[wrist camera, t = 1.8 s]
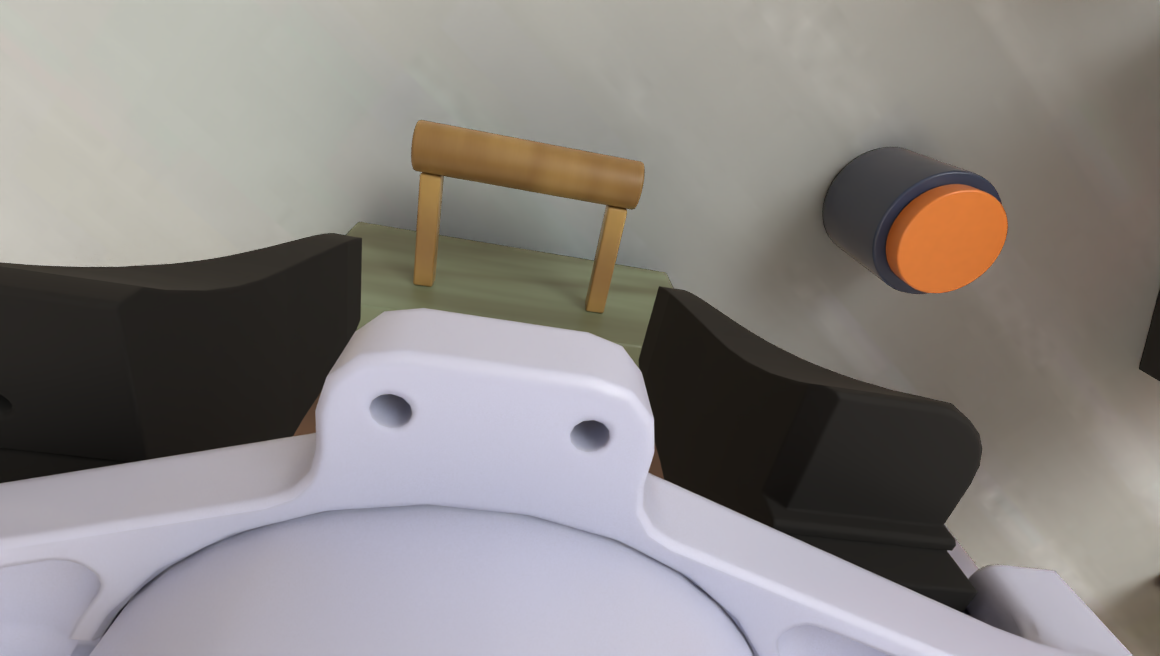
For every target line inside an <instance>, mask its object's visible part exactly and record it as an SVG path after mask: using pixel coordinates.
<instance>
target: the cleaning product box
mask: <svg viewBox="0 0 1160 656" xmlns="http://www.w3.org/2000/svg"><path fill="white" fill-rule="evenodd" d="M1139 369H1140V370H1142V371H1143V372H1145V373H1147V374H1148V375H1150V376H1152V377H1154V378H1155V379H1157V380H1159V381H1160V292H1159V296H1158V300H1157V304H1156V307H1155V311H1154V315H1153V319H1152V322H1151V326H1150V330H1149V334H1148V338H1147V341H1146V345H1145V349H1144V353H1143V357H1142V360H1141V364H1140V368H1139Z"/></svg>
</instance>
